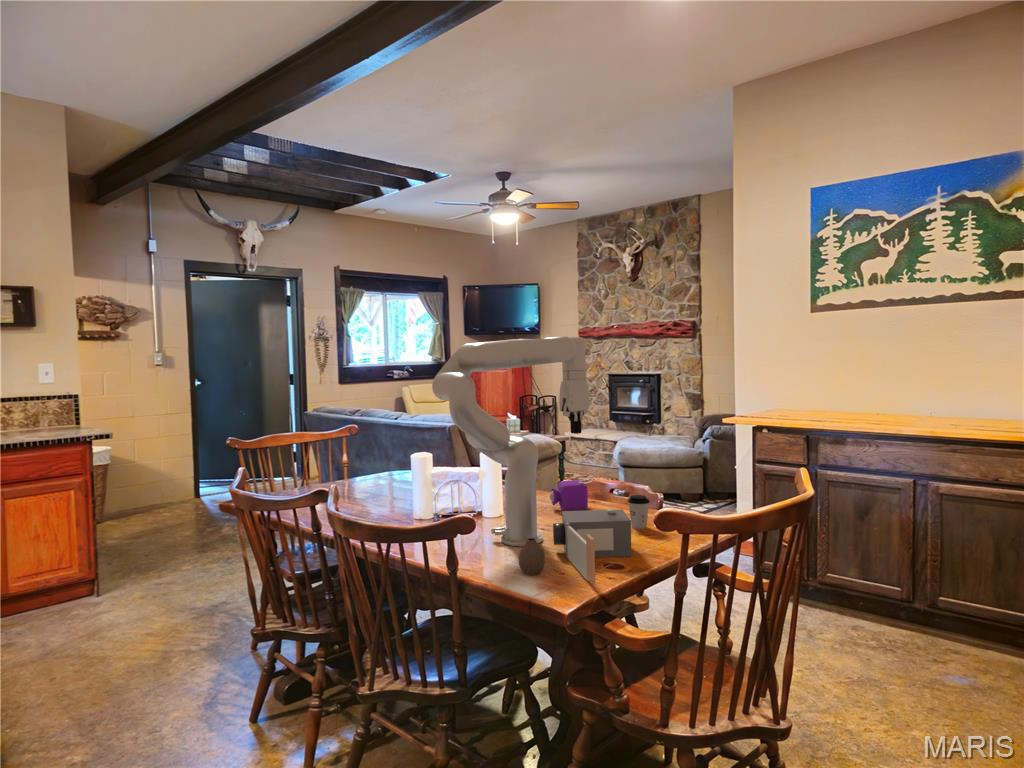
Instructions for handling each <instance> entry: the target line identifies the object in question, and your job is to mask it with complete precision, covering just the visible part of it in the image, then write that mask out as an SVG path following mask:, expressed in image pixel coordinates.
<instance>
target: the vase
mask: <svg viewBox="0 0 1024 768" xmlns="http://www.w3.org/2000/svg"><path fill="white" fill-rule="evenodd" d="M545 564H546V556H545V552H544V550H543V548H542V547H541V546H540V543H537V541H536V539H535V538H528V539H527V540H526V542H525V544H524V545H523V546H521V548H520V550H519V551H518V565H519V568H520V570H521V571H522V572H523V574H526V575H528V576H536V575H538V574H540V573H542V570H544V568H545Z"/></svg>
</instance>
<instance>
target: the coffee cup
mask: <svg viewBox="0 0 1024 768" xmlns="http://www.w3.org/2000/svg"><path fill="white" fill-rule="evenodd" d="M627 502H628V507H629V508H628V509H629V516H630V517H629V518H630V520H631V529H633V530H646V529H647V527H648V516H649V506H650V503H651V501H650V499H649V498H647V496H646V495H643V494H633V495H630V496H629V498H628V500H627Z"/></svg>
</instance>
